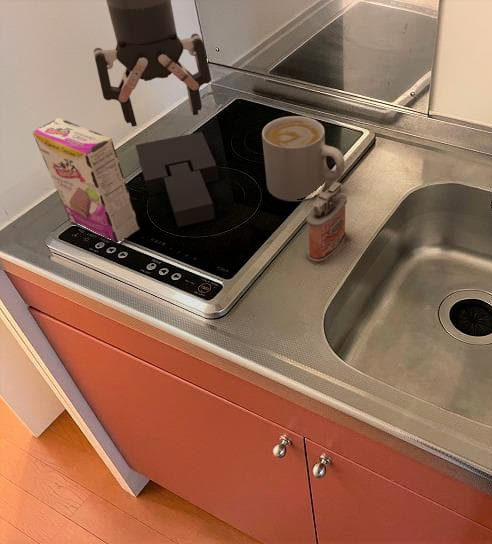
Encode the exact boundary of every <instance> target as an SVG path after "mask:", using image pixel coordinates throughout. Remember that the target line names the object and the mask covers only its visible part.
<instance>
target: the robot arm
mask: <svg viewBox="0 0 492 544" xmlns="http://www.w3.org/2000/svg"><path fill="white" fill-rule="evenodd" d="M105 1H106V4H107V9H108V13H109V17H110V21H111V25H112V29H113V32H114V37H115V40H116V47H115V49H105V50H103V49H102V48H100V47H96V48H94V50H93V56H94V60H95V66H96V70H97V74H98V79H99V84H100V88H101V92H102V93H101V94H102V97H103V99H104V100H105V101H111V100H114V101H117V102H119V105H120V108H121V111H122V116H123V118H124V122H125V123H126V124H131V127H137V126H138V124H137V119H136V116H135V112H134V108H133V105H132V100H131V98H130V97H131V94H132V92H133V90H135V89H136V87H137V85H138V83H139V81H140V80H144V82H149V81H152V80H154V79H167V78H169V76H171V75H172V74H173V76H175V77H176V78H177V79H178V80H179V81H181V82H183V83H184V84H185V85H186V92H187V96H188V102H189V107H190V111H191V113H192V116H197V115H199V111H202V107H203V106H202V105H203V104H202V100H201V93H200V88H201V87H202V86H203V85H206V84H207V85H208V84H210V83H211V81H212V76H211V72H210V67H209V61H208V58H207V53H206V49H205V44H204V41H203V40H202V38H201V36H200V35H199V34H198V33H192V34H191V36H190V37H187V38H183V39H180V38H179V37H178V33H177V27H176V22H175V16H174V10H173V6H172V5H173V4H172V0H105ZM184 50H186V51H188V53H189V55H190V56H192V57H194V58H195V63H196V67H197V72H195V73H194V74H192V73H191V71H190V70H188V69H187V68H186V67H185V66H184V64H182V62H180V59H181V56H182V54H183V53H184ZM116 60H117V61H118V62H119V63H120V64H121V65H122V66H124V67H125V69H124V71H123V73H122V76H121V79H120V82H119V84H118V85H117V86H114V85H113V86H112V84H111V80H110V75H109V70H111V69H112V68H113V67H114V62H115V61H116Z"/></svg>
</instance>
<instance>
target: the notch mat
mask: <svg viewBox="0 0 492 544" xmlns="http://www.w3.org/2000/svg"><path fill="white" fill-rule="evenodd" d="M203 133H204V132H202V131H199V132H193V133H189V134H183V135H179V136H173V137H169V138H164V139H158V140H153V141H148V142H144V143H138V144H135V149H136V152H137V157H138V161H139V164H140V168H141V171H142V175H143V179H144V183H145V187H146V190H147V194H148V196H153V195H158V194H163V193H167V189H166V185H165V182H164V178H165V177H169V176H171V173H170V169H169V166H171V165H176V164H181V163H186V162H188V165H189V167H190V170H191V172H193V171H197V170H200V173H201V175H202V178H203V180H204V183H205V184H207V183H211V182H217V181H220V177H219V172H218V165H217V163H216V160H215V159H214V156H213V154H212V152H211V148H209V145H208V142H207V140H206V138H205V136H204V134H203Z"/></svg>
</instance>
